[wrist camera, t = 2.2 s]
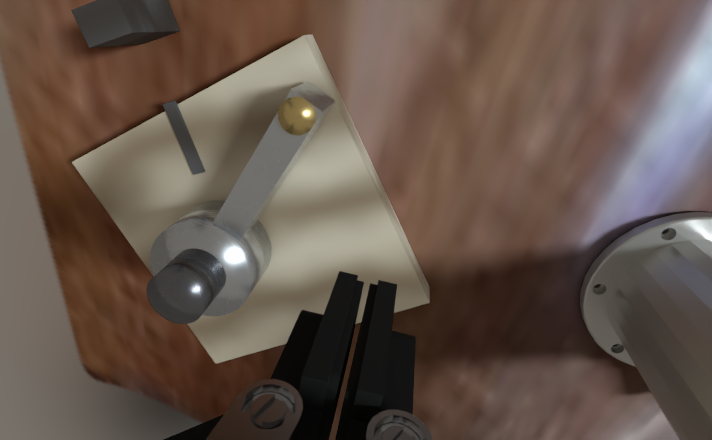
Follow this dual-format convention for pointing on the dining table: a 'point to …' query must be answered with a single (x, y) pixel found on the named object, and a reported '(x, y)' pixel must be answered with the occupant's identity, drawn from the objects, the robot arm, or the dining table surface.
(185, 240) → the crank
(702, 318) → the robot arm
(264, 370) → the dining table surface
